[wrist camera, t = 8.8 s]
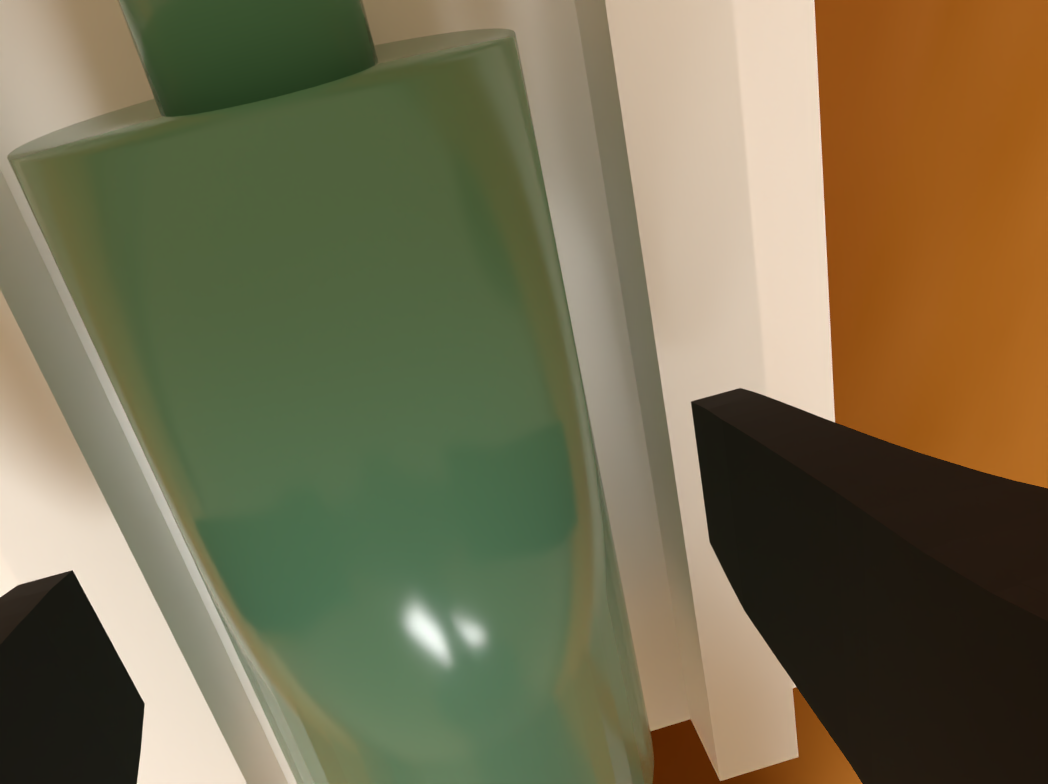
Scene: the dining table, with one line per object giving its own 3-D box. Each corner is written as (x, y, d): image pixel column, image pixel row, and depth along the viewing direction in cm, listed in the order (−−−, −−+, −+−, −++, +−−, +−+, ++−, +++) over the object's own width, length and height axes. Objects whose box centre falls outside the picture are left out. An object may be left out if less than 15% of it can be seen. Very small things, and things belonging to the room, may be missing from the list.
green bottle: (633, 627, 15) (679, 906, 11) (354, 670, 16) (291, 957, 11) (445, -351, 9) (380, -612, 5) (3, -237, 10) (-429, -380, 5)
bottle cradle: (822, 638, 18) (888, 729, 16) (149, 839, 17) (121, 966, 15) (761, -308, 11) (865, -377, 9) (-390, -66, 10) (-594, -78, 8)
